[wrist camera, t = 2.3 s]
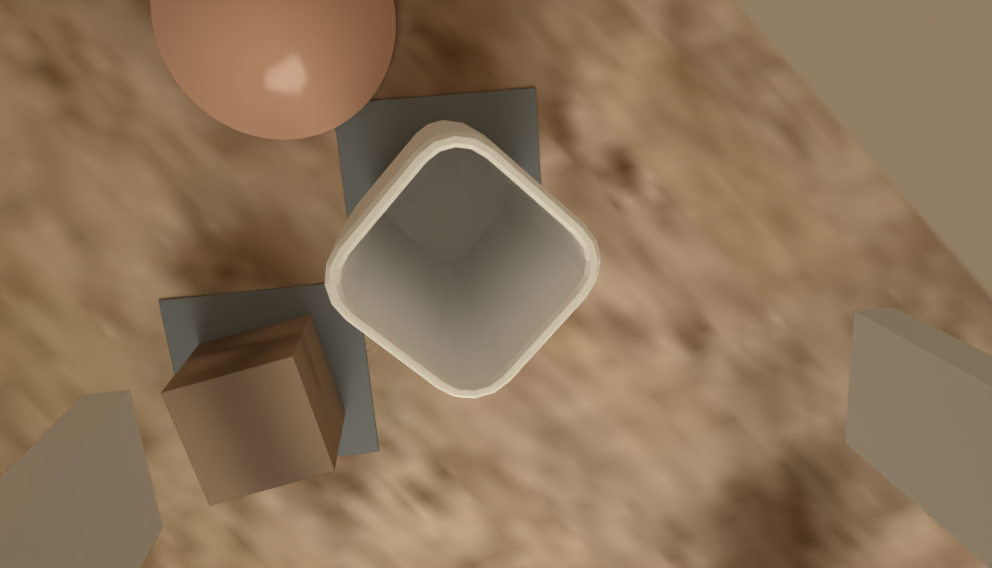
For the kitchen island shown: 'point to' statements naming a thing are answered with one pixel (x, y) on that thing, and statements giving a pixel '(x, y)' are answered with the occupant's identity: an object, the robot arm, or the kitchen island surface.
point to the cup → (460, 262)
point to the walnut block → (257, 410)
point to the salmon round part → (277, 59)
